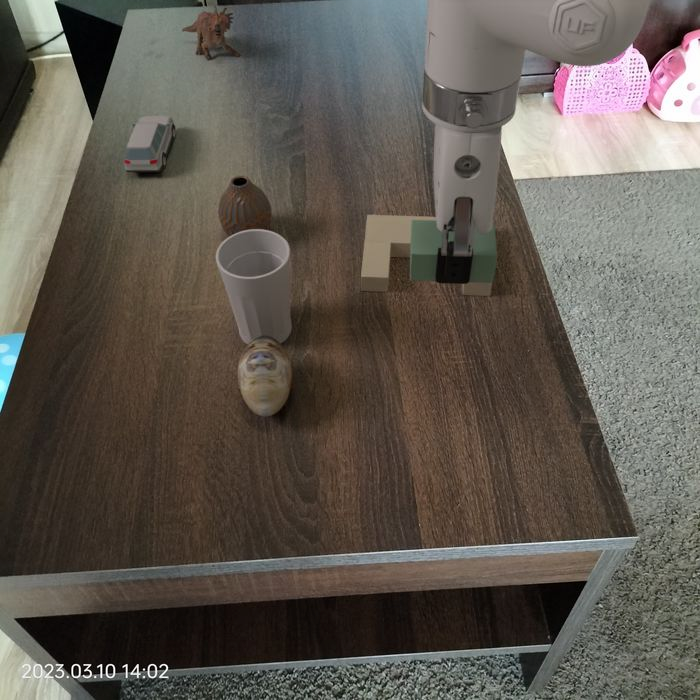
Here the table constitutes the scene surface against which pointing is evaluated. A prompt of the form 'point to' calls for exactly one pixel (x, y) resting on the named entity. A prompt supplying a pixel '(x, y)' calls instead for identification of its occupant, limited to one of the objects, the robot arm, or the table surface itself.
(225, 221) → the vase
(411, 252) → the green block
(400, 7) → the table surface
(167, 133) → the toy car
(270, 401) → the seashell
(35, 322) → the table surface
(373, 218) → the beige c-shaped block
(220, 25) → the dinosaur figurine
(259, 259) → the cup
